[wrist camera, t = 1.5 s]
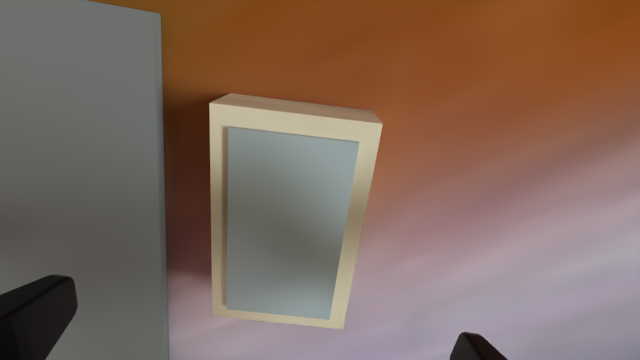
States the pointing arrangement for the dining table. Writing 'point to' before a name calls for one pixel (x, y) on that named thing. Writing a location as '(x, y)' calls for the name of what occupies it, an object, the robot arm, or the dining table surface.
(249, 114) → the framed mirror
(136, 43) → the grey rectangular board
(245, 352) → the dining table surface
